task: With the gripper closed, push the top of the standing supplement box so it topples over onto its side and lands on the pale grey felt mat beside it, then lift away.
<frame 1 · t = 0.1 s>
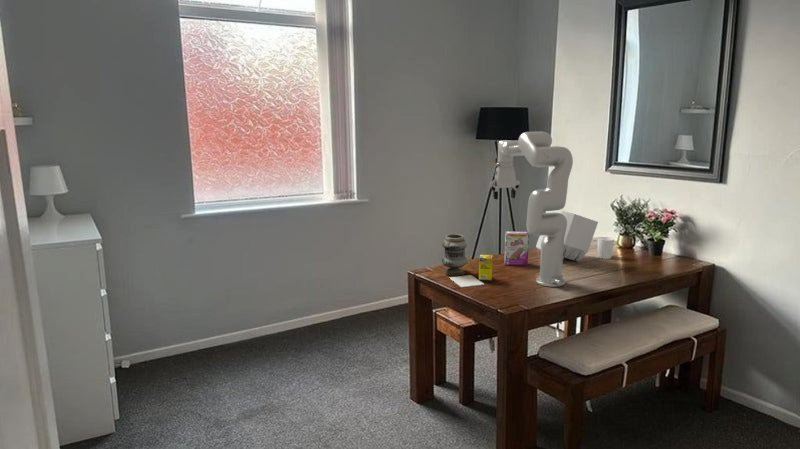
hand: (504, 198, 275), 31 cm above the table, tool pointing down, fingers open, 9 cm apart
candy bar box: (516, 264, 269), on the table
supplement box: (485, 279, 246), on the table
apothecary jar: (454, 272, 257), on the table
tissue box: (564, 260, 275), on the table
felt mat: (466, 281, 243), on the table
white cup: (604, 257, 279), on the table
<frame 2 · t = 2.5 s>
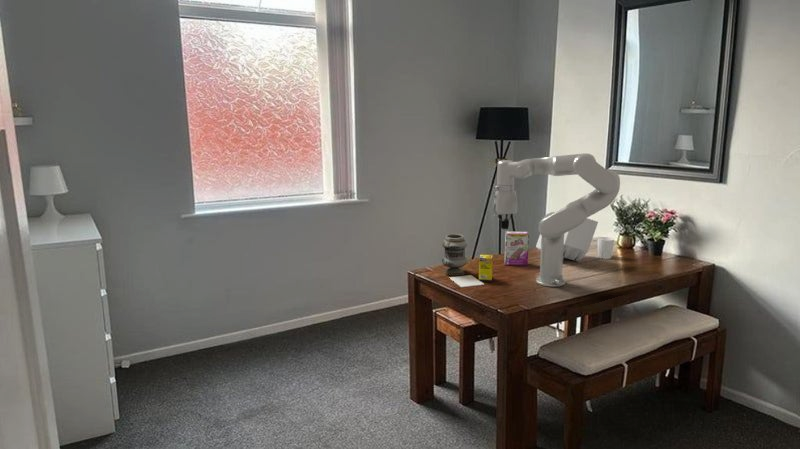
hand: (504, 228, 243), 23 cm above the table, tool pointing down, fingers closed
nothing on the table moved.
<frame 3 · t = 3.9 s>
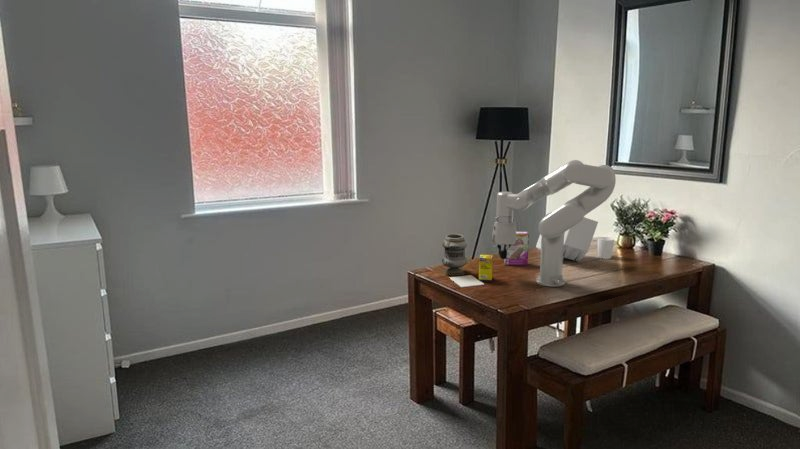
hand: (503, 258, 246), 9 cm above the table, tool pointing down, fingers closed
nothing on the table moved.
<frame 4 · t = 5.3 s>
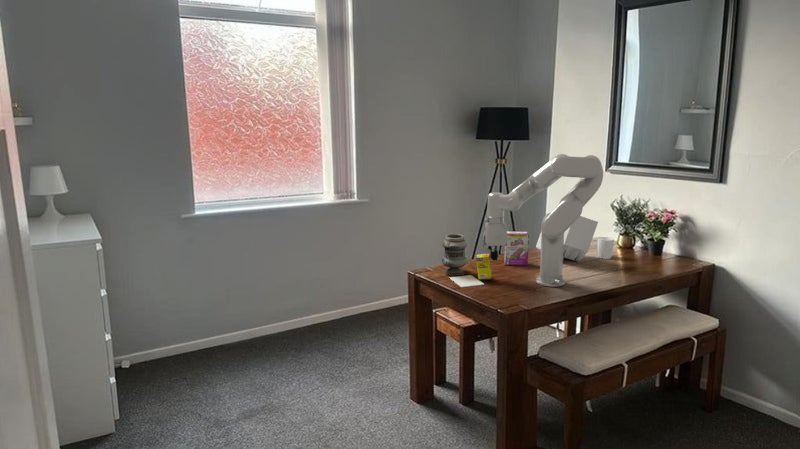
hand: (493, 259, 245), 9 cm above the table, tool pointing down, fingers closed
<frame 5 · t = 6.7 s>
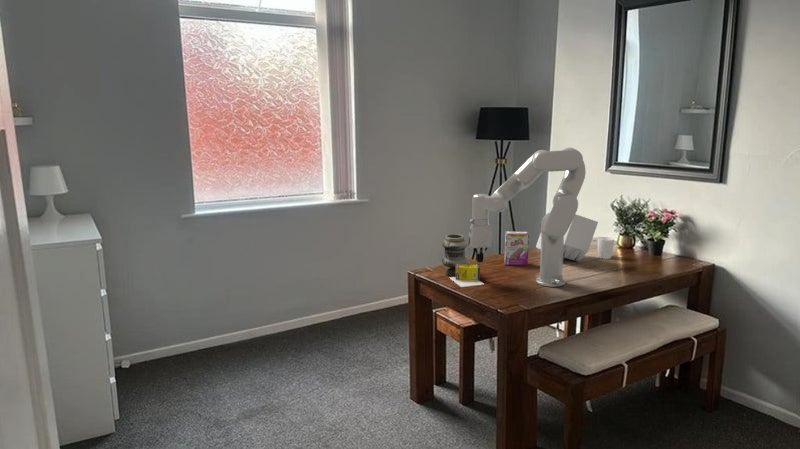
hand: (479, 261, 243), 9 cm above the table, tool pointing down, fingers closed
supplement box: (480, 271, 246), point 3 cm above the table, touching felt mat
everything else where it was.
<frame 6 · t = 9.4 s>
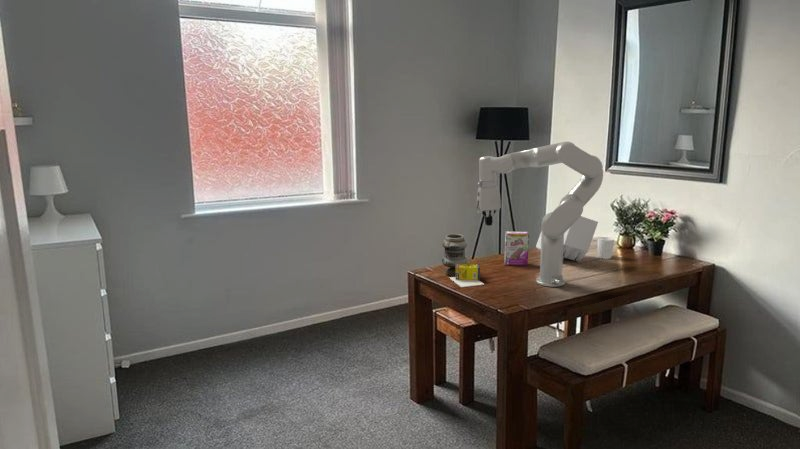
hand: (488, 224, 242), 25 cm above the table, tool pointing down, fingers closed
nothing on the table moved.
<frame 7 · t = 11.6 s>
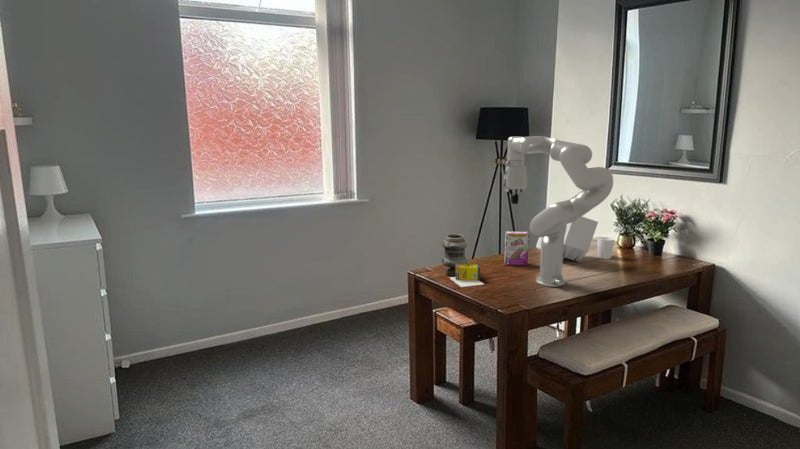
hand: (514, 203, 249), 33 cm above the table, tool pointing down, fingers closed
nothing on the table moved.
at the end: supplement box tilted 90°; supplement box touching felt mat; supplement box inside the target area (3.1 cm from its centre), point 3.4 cm above the table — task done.
